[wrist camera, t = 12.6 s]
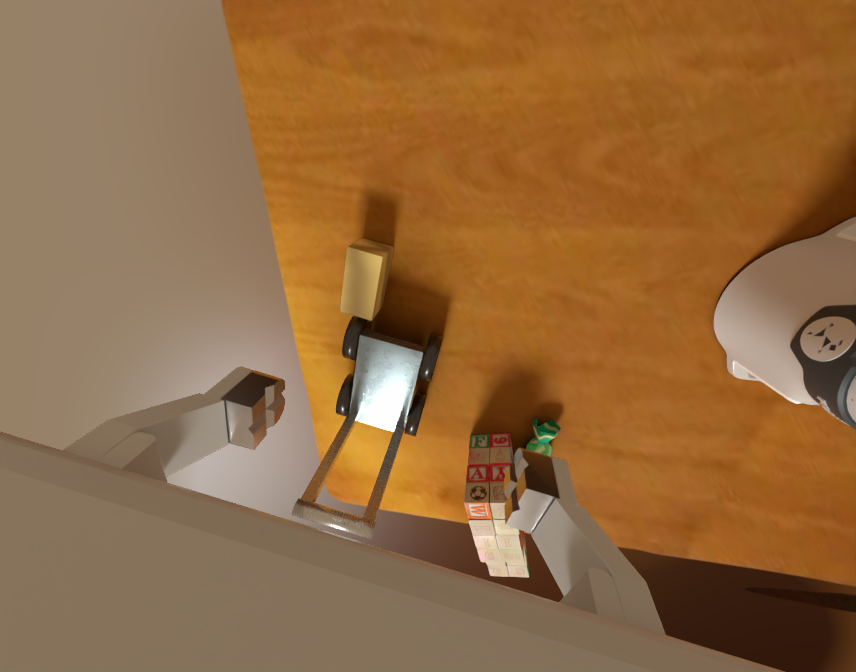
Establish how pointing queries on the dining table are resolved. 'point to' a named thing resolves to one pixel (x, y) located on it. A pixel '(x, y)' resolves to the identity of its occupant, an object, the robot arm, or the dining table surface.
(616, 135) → the dining table surface
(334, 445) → the trolley
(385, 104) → the dining table surface
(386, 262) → the block
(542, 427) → the candy
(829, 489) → the dining table surface
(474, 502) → the stack of blocks
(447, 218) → the dining table surface
